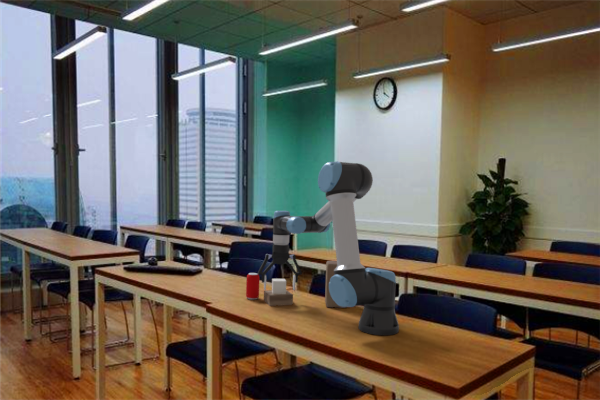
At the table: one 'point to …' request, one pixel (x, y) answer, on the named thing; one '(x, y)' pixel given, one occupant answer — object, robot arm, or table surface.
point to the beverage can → (252, 286)
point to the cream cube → (278, 286)
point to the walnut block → (278, 298)
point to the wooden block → (329, 273)
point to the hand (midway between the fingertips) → (279, 289)
